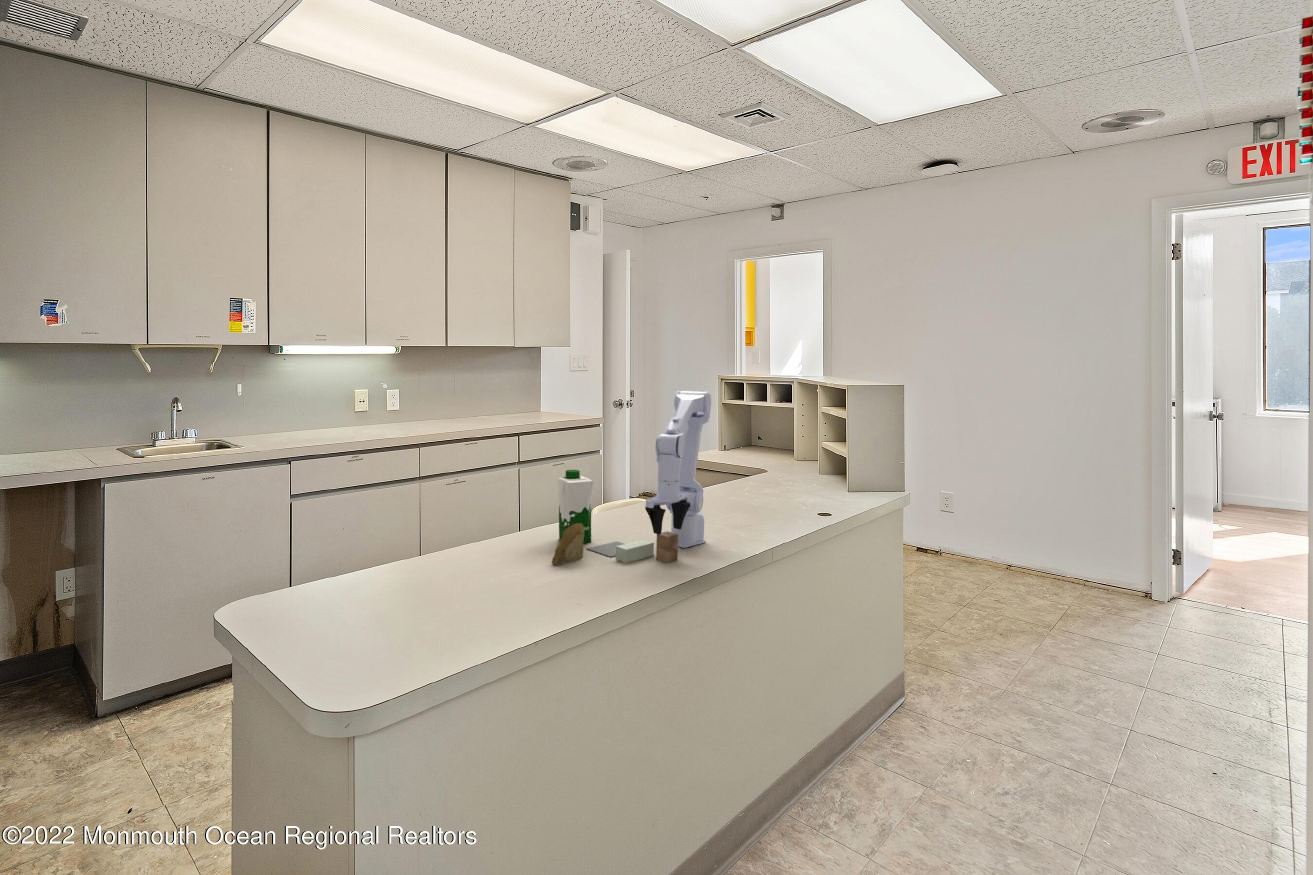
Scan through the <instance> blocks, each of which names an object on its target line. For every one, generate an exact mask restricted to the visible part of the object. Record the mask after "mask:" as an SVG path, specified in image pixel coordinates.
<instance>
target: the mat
mask: <svg viewBox="0 0 1313 875" xmlns="http://www.w3.org/2000/svg"><path fill="white" fill-rule="evenodd" d="M624 544H625V543H623V542H620V541H617V540H616V541H612V542H608V543H604V544H600V545H594V546H591V547H587V548H586V550H588V551H590V552H594V553H596V554H599V555H602V556H605V557H608V558H614V557H615V558H616V546H619V545H624Z"/></svg>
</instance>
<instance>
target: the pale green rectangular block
mask: <svg viewBox="0 0 1313 875" xmlns="http://www.w3.org/2000/svg"><path fill="white" fill-rule="evenodd" d="M654 547H655V542H653V541H649V540H646V539H640V540H636V541H632V542H628V543H624V545H619V546H616V556H615V560H616V561H620V562H622V563H626V564H627V563H631V562H635V561H639V560H641V559H646V558H649V557H652V556H655V555H654V552H655V550H654V549H655V548H654Z"/></svg>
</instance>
